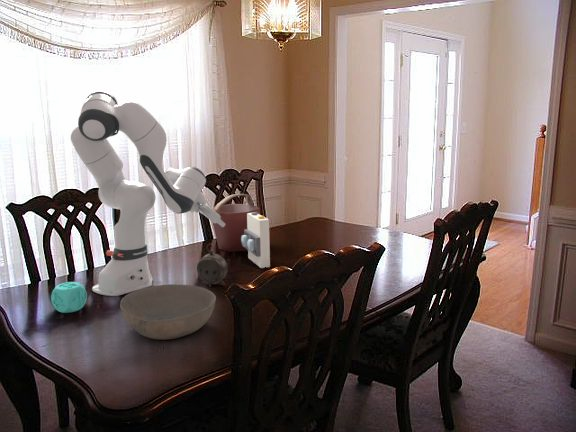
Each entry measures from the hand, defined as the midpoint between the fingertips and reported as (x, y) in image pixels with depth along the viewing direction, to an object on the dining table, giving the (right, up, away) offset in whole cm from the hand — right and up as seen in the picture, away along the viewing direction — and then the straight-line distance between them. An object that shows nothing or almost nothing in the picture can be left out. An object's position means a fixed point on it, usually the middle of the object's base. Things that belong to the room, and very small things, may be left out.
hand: (220, 223), depth 208 cm
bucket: (+3, -12, +39) cm, 41 cm away
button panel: (+14, -17, +14) cm, 26 cm away
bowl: (-9, -31, -51) cm, 60 cm away
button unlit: (+9, -10, +15) cm, 20 cm away
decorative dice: (-46, -28, -34) cm, 64 cm away
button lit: (+12, -12, +8) cm, 18 cm away
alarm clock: (-1, -23, -14) cm, 27 cm away
